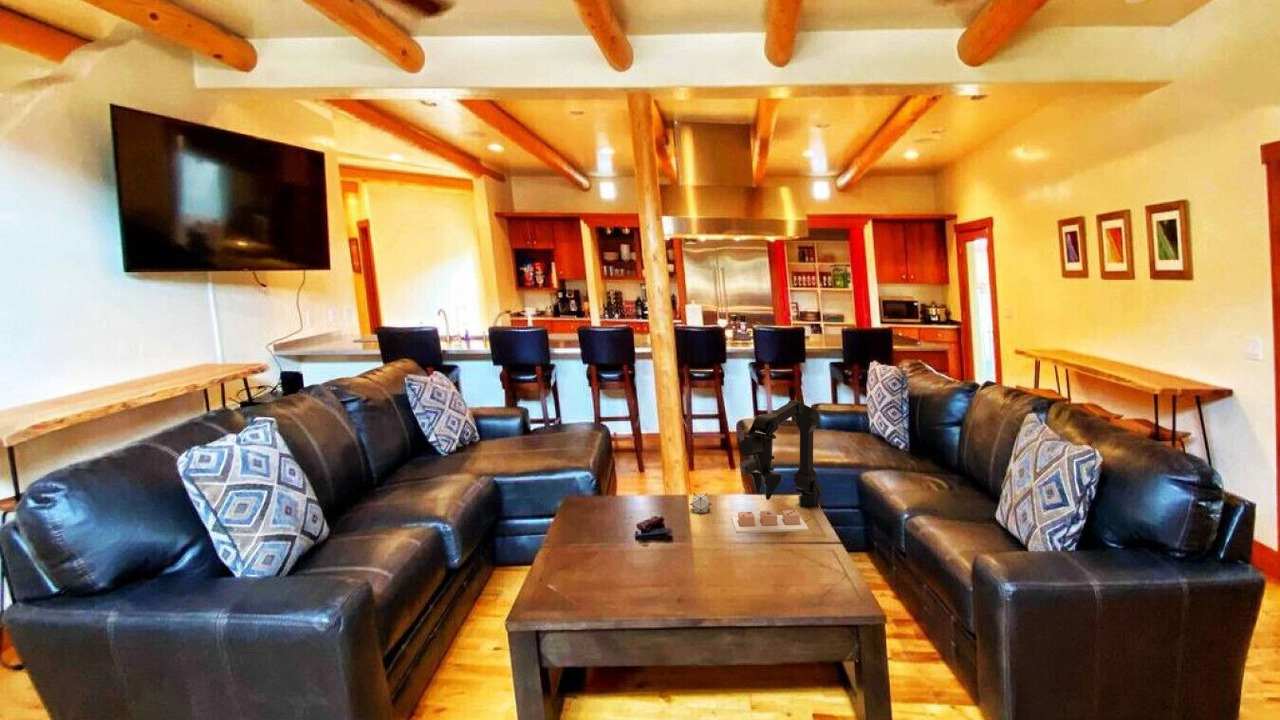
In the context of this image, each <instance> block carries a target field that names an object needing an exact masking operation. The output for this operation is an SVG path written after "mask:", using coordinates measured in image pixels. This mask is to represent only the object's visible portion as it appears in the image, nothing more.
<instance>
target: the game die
mask: <svg viewBox="0 0 1280 720" xmlns="http://www.w3.org/2000/svg"><path fill="white" fill-rule="evenodd" d="M693 495H694V496H693V498H692V501H691V503H689V505H690V506H691V507H692V510H693V512H694V513H696V514H704V513H705V514H707V513H708V512H709V509H710V506H711V505H713V504H712V503H711V502H710V501H709V497H708V492H706V493H705V494H696V493H695V492H694V493H693Z"/></svg>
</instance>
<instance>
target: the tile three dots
mask: <svg viewBox="0 0 1280 720" xmlns="http://www.w3.org/2000/svg"><path fill="white" fill-rule="evenodd" d="M782 515H783V523H784V525H800V516H801V515H800V513H799V512H798V510H796V509H791V510H790V509H788V510H787V509H785V510H782Z"/></svg>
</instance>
